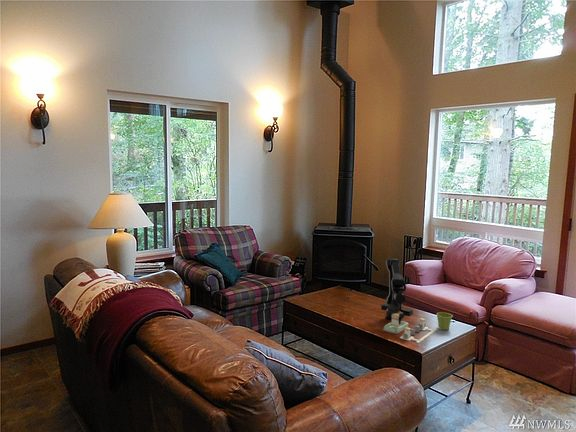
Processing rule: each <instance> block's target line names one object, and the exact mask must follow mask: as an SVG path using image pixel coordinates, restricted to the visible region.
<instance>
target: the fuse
mask: <svg viewBox="0 0 576 432" xmlns="http://www.w3.org/2000/svg"><path fill="white" fill-rule="evenodd" d="M399 314H400V313H398V314H397V313H395V314H392V315H391V316H392V320H391V322H392V324H391V326H394V327H399V326H401V324H400V325H399Z"/></svg>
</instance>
